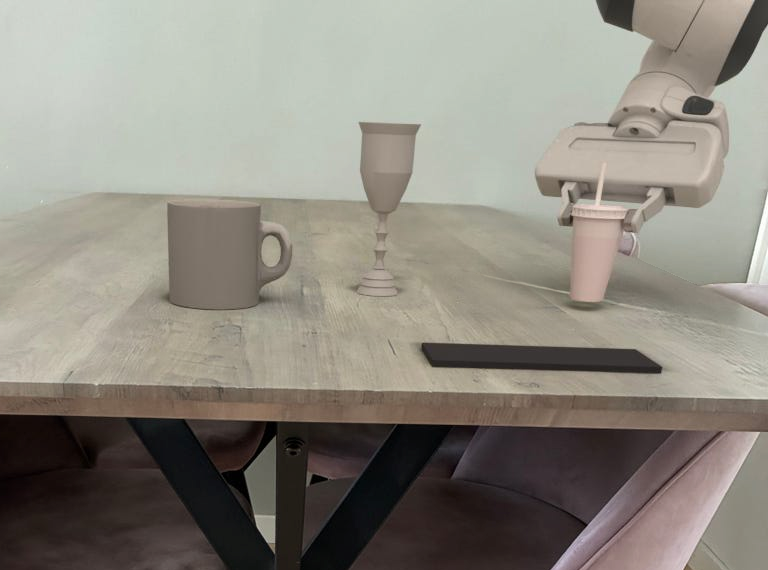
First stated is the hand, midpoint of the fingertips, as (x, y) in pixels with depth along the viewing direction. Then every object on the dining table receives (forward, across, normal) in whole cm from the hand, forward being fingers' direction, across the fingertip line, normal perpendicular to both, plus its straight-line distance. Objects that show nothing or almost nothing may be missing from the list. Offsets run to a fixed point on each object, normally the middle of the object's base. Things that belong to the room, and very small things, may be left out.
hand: (596, 225), depth 105 cm
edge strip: (+26, +9, -14) cm, 31 cm away
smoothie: (+5, 0, +6) cm, 8 cm away
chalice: (+13, -22, -1) cm, 26 cm away
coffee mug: (+26, -29, -14) cm, 41 cm away
